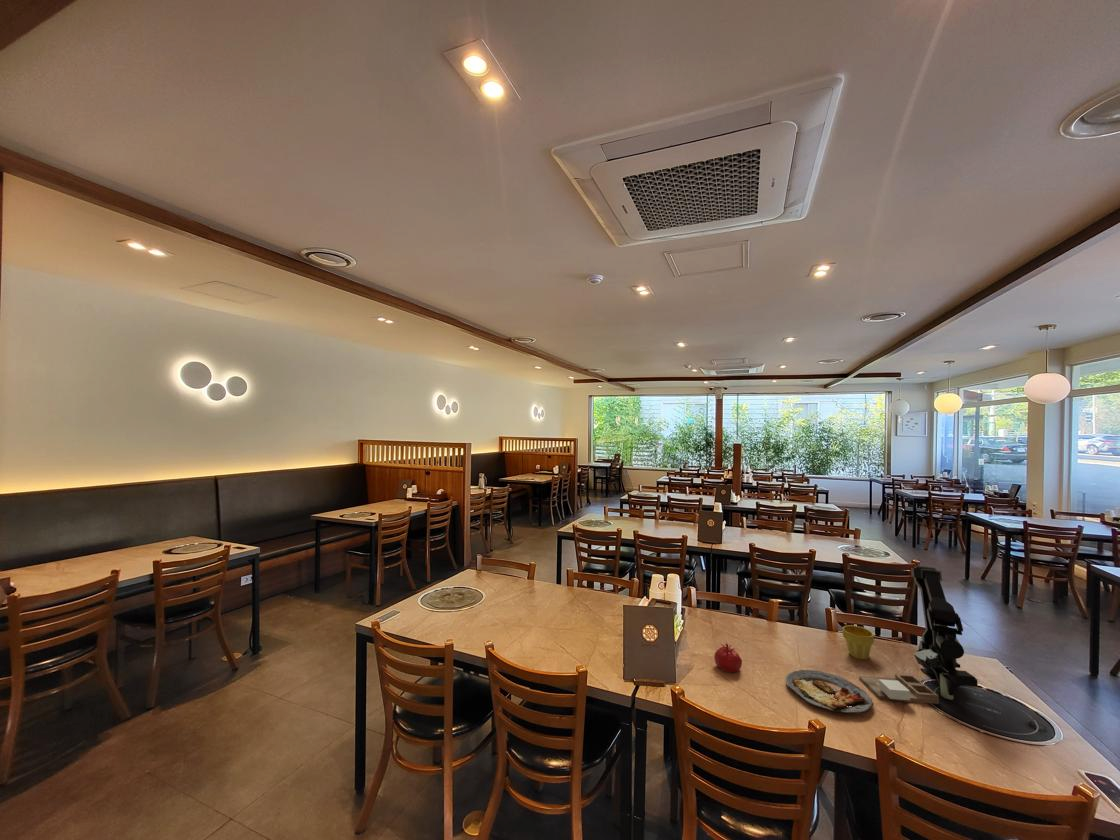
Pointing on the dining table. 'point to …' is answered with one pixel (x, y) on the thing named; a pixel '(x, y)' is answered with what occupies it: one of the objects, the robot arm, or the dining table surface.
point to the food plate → (829, 691)
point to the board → (883, 696)
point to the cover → (894, 689)
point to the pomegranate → (728, 659)
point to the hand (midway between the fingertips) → (946, 692)
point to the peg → (944, 688)
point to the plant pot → (858, 641)
